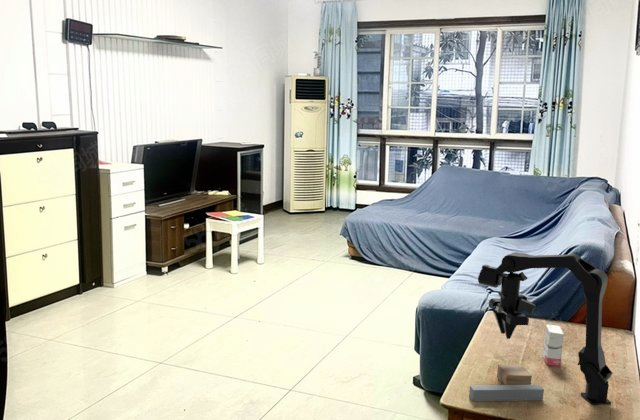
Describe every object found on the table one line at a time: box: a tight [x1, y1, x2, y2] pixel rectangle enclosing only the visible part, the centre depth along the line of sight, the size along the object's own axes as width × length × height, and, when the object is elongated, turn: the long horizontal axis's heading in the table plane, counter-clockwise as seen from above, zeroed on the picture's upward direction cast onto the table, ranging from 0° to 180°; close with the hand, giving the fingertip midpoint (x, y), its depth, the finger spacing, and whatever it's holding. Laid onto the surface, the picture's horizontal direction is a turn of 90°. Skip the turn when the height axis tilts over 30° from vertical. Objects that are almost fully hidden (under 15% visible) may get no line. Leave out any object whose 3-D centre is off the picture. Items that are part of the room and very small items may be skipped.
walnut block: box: [496, 363, 533, 385], centre depth 194 cm, size 8×8×4 cm
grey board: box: [468, 384, 545, 402], centre depth 183 cm, size 3×22×4 cm, turn 96°
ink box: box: [542, 324, 565, 367], centre depth 212 cm, size 9×5×12 cm, turn 168°
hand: (505, 336), depth 201 cm, fingers open, 4 cm apart
